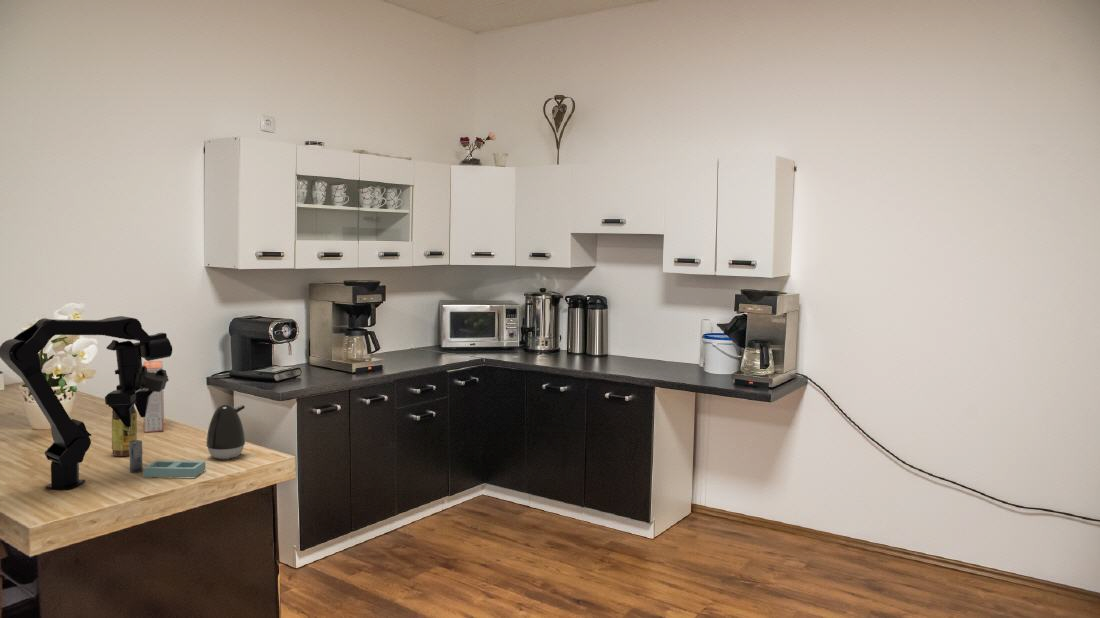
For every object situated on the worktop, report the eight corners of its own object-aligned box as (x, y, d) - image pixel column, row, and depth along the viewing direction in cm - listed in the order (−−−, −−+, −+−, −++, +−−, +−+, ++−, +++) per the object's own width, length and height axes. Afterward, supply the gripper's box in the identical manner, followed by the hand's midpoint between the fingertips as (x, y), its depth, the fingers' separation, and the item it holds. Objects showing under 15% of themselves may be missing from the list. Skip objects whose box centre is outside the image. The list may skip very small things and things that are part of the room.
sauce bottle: (126, 458, 221) (124, 388, 220) (106, 456, 223) (105, 386, 221) (142, 452, 228) (141, 384, 226) (123, 450, 229) (122, 382, 227)
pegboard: (194, 478, 205) (194, 468, 204) (143, 477, 204) (143, 468, 204) (205, 470, 212) (205, 461, 211) (156, 469, 211) (156, 460, 211)
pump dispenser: (251, 458, 225) (251, 405, 223) (213, 464, 218) (213, 409, 217) (238, 450, 232) (238, 399, 231) (201, 456, 226) (200, 403, 224)
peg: (139, 472, 208) (138, 443, 208) (127, 472, 208) (127, 442, 207) (144, 469, 211) (144, 440, 211) (133, 469, 211) (132, 440, 210)
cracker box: (144, 423, 262) (143, 360, 260) (164, 422, 265) (163, 360, 263) (142, 433, 249) (141, 367, 248) (163, 431, 252) (162, 366, 250)
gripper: (147, 370, 198) (153, 431, 201) (175, 355, 217) (180, 410, 219) (100, 372, 198) (107, 433, 200) (132, 357, 216) (138, 412, 218)
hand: (135, 421), depth 209 cm, fingers open, 9 cm apart
